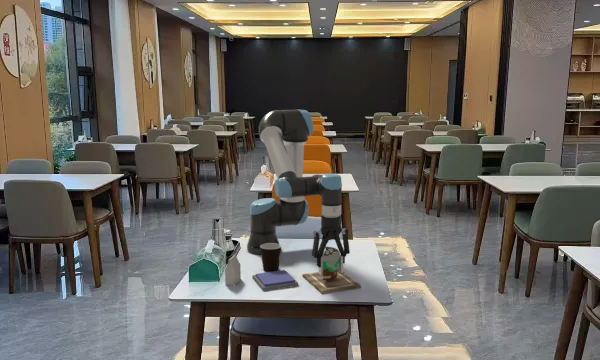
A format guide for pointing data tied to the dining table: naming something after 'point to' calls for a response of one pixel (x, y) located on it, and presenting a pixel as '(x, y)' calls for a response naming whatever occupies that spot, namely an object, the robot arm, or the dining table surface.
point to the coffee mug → (270, 256)
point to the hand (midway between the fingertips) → (330, 273)
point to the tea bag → (232, 271)
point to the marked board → (331, 282)
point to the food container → (330, 263)
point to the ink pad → (274, 280)
